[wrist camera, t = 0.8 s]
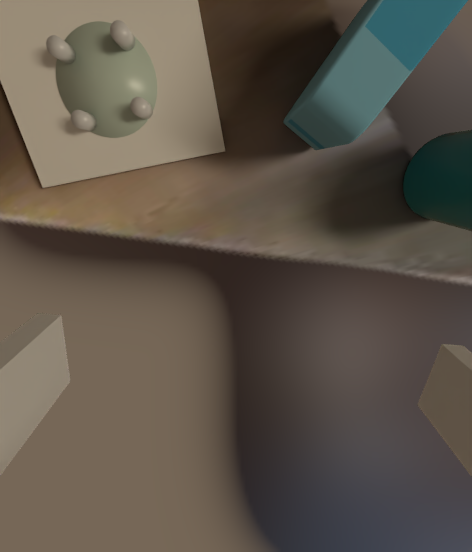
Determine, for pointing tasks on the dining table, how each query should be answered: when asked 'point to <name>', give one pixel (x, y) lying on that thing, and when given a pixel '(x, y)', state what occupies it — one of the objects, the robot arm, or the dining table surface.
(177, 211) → the dining table surface
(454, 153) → the cup
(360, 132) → the data package
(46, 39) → the pin tray
